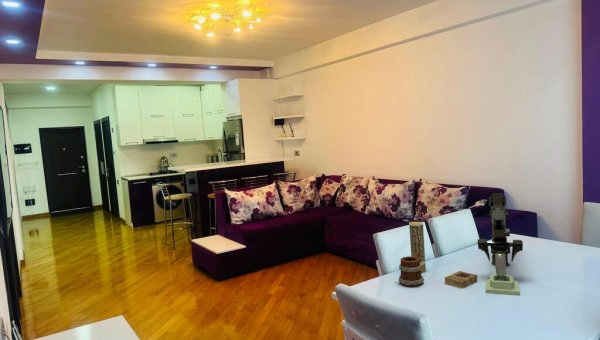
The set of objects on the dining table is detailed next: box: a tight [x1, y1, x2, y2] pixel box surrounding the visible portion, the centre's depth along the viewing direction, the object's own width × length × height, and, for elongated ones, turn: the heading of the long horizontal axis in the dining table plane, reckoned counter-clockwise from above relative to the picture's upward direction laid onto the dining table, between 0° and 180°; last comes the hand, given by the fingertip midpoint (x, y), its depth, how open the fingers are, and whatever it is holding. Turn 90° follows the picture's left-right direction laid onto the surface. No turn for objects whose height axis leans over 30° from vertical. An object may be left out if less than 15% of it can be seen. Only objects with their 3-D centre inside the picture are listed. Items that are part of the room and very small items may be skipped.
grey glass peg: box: [495, 252, 507, 281], centre depth 179 cm, size 4×4×14 cm
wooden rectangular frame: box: [444, 270, 478, 289], centre depth 190 cm, size 12×9×3 cm
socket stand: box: [485, 273, 521, 296], centre depth 179 cm, size 13×13×4 cm
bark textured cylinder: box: [408, 221, 427, 274], centre depth 209 cm, size 7×7×25 cm
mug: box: [398, 252, 425, 288], centre depth 195 cm, size 12×14×15 cm
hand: (500, 261), depth 185 cm, fingers open, 9 cm apart
